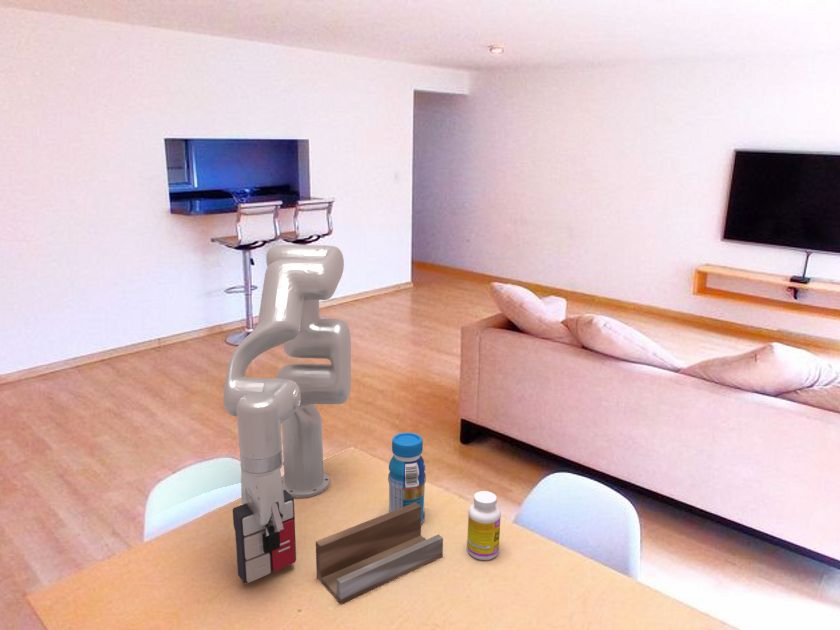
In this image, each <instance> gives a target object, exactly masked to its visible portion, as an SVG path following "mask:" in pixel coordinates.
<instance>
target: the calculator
mask: <svg viewBox="0 0 840 630" xmlns="http://www.w3.org/2000/svg"><path fill="white" fill-rule="evenodd" d="M283 493H284V504H285V514H284V517H283V519H281V520H282V524H283V530H280V532H279V533H280V548H279V549H276V550H274V551H271V552H269V553H264V551H263V538H262V534H264V528H263V526H261V525H259V524H258V523H257V522H256V521H255V520H254V515H253V512H252V511H251V509H250V508H249V507H248V506H247V504H241V505H237V506H235V507H233V509H232V522H233V528H234V531H235V548H236V549H235V550H236V561H237V575H238V577H239V578H240V580H241V581H242V582H243V584H245V585H246V584H249V583H252V582H254V581H256V580H258V579H260V578H263V577H265V576H267V575H270V574H271V573H274V572H277V571H278V570H281V569H283V568H286V567H288V566H290V565H293V564H295V563H296V561H297V549H296V548H297V547H296V545H297V543H296V521H295V520H296V519H295V516H296V515H295V497H292V496H291V495H290V494H289V493H288V492H287V491H286V490H283ZM272 525H273V522H270V523H268V528H269V527H270V526H272Z"/></svg>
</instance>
